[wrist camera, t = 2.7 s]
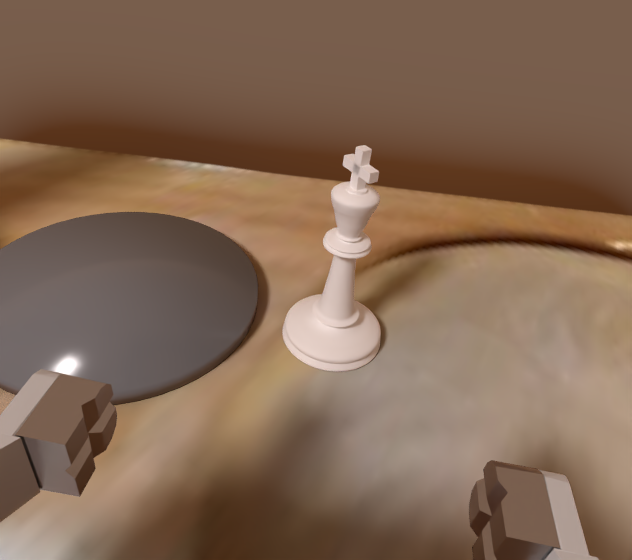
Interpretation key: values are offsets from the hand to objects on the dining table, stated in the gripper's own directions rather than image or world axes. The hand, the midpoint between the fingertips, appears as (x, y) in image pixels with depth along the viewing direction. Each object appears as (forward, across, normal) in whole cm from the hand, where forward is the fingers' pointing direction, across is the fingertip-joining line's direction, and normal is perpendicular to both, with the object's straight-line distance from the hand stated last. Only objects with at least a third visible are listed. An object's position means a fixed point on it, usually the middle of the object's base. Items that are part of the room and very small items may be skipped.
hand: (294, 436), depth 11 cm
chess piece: (+12, 0, +9) cm, 15 cm away
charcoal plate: (+12, +10, +8) cm, 18 cm away
